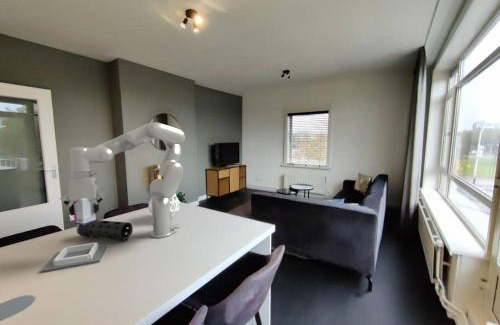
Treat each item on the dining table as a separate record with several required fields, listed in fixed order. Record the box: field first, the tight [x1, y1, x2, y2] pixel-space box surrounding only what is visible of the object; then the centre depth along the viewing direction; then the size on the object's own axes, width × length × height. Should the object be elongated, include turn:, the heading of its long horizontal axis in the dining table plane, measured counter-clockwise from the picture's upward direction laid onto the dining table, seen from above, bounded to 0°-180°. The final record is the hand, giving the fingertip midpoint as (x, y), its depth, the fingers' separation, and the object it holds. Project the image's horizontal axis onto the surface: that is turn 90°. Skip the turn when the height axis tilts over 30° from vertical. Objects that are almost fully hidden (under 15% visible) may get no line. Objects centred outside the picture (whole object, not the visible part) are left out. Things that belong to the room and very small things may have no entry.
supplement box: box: [73, 198, 97, 225], centre depth 99 cm, size 6×6×12 cm
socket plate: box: [40, 242, 108, 274], centre depth 99 cm, size 20×16×4 cm
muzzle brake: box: [75, 219, 133, 242], centre depth 119 cm, size 10×28×10 cm, turn 78°
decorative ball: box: [147, 193, 181, 218], centre depth 148 cm, size 20×20×19 cm
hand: (84, 213), depth 99 cm, fingers closed on supplement box, 7 cm apart
